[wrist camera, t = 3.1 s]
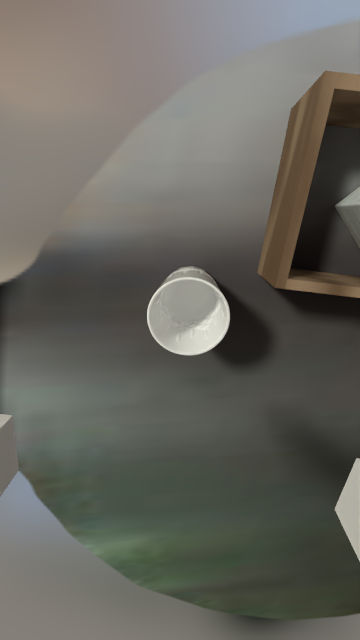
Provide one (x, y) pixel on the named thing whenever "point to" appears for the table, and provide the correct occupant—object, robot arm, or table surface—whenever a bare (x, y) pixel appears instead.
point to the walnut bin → (307, 183)
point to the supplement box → (351, 214)
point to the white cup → (188, 312)
